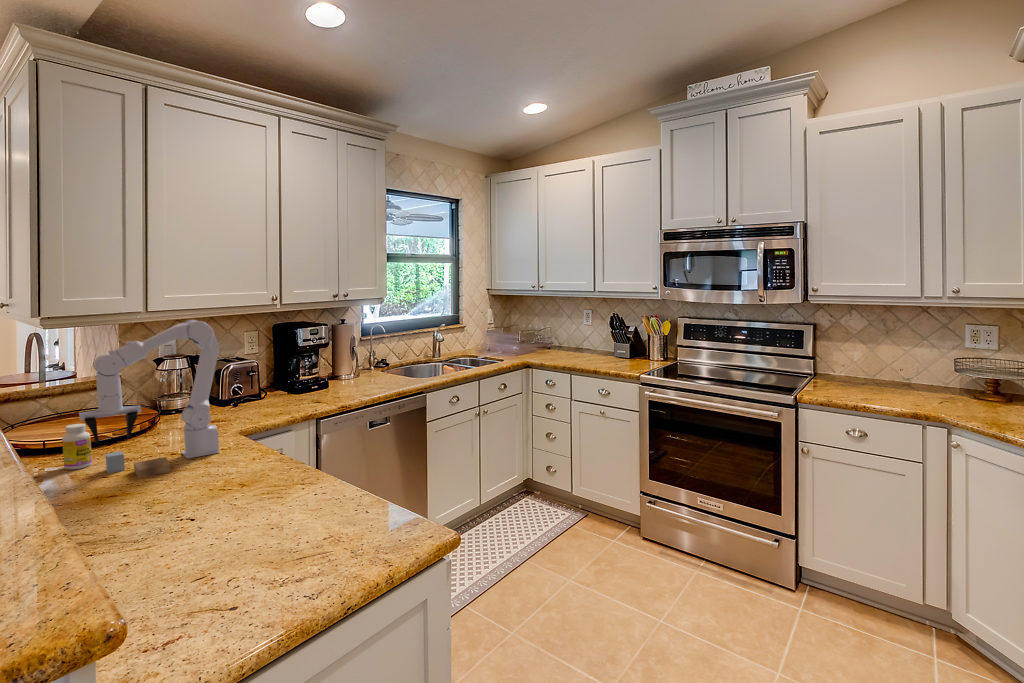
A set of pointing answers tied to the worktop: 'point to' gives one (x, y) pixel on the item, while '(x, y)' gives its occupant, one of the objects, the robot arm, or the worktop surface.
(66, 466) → the supplement bottle
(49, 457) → the worktop surface
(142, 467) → the walnut block
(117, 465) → the gray block
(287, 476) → the worktop surface
